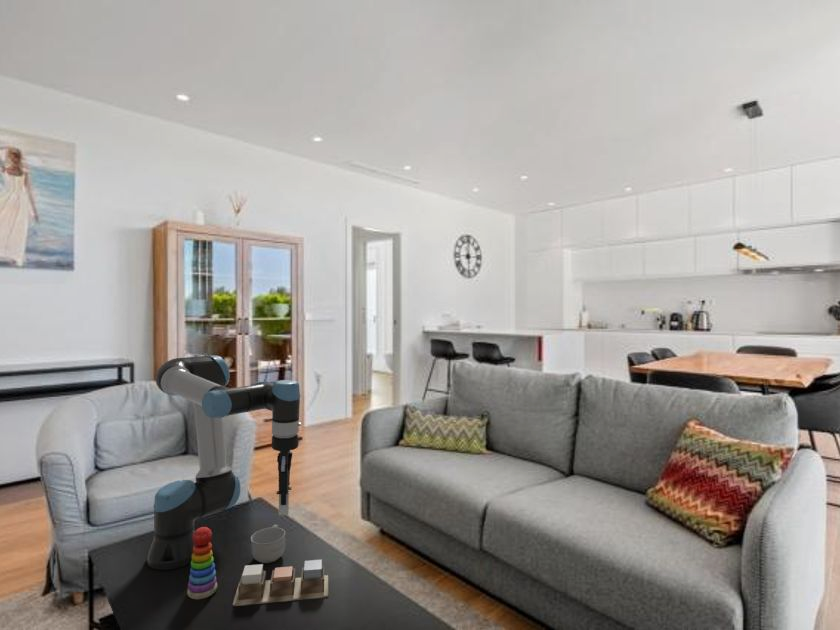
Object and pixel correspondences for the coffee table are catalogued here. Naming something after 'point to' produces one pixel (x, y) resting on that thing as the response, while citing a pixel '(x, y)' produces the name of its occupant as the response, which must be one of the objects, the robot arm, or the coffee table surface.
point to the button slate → (313, 569)
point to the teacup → (268, 544)
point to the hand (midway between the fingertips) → (283, 513)
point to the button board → (281, 590)
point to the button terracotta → (283, 574)
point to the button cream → (252, 574)
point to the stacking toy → (202, 566)
